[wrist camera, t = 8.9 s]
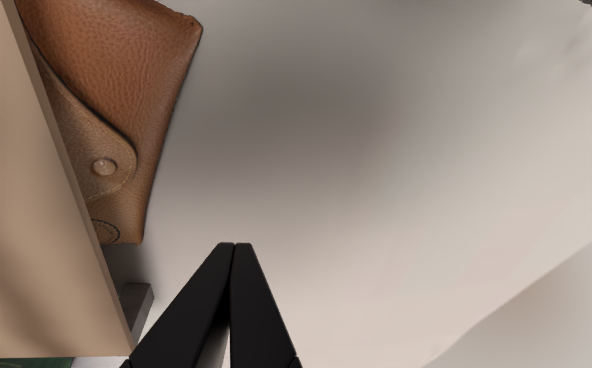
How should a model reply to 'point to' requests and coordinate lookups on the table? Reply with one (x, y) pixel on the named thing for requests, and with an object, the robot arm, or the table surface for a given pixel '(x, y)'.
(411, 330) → the table surface
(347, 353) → the table surface
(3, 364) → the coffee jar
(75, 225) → the brown box
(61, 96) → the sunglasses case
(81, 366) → the table surface
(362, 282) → the table surface
